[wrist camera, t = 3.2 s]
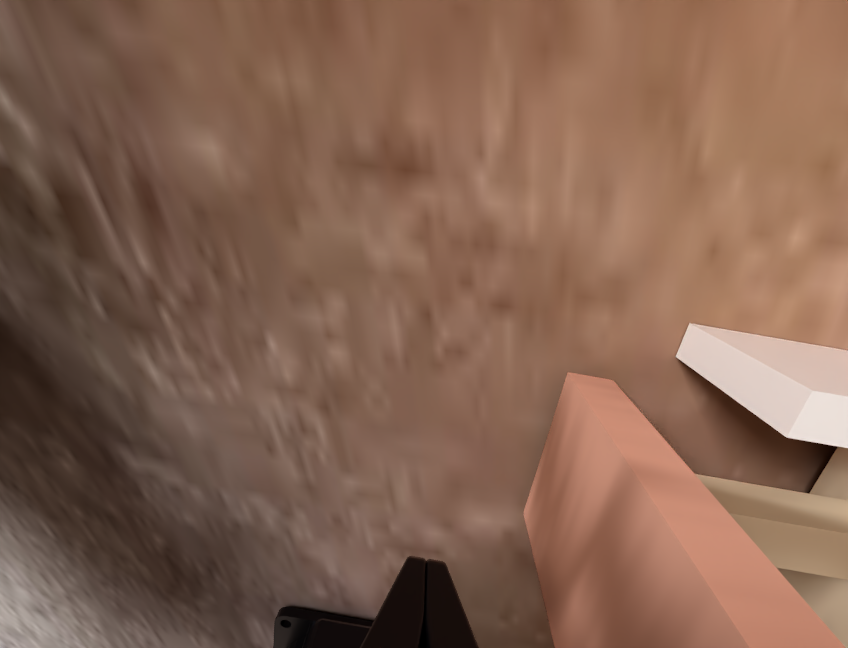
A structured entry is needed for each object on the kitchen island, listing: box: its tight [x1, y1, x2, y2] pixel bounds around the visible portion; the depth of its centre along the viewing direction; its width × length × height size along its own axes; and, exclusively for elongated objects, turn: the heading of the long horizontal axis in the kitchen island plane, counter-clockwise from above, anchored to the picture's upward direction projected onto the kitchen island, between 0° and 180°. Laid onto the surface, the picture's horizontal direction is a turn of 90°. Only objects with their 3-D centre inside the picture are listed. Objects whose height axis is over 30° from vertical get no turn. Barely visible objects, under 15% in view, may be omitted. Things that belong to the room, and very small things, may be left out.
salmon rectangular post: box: [523, 372, 848, 648], centre depth 10 cm, size 7×11×9 cm, turn 81°
